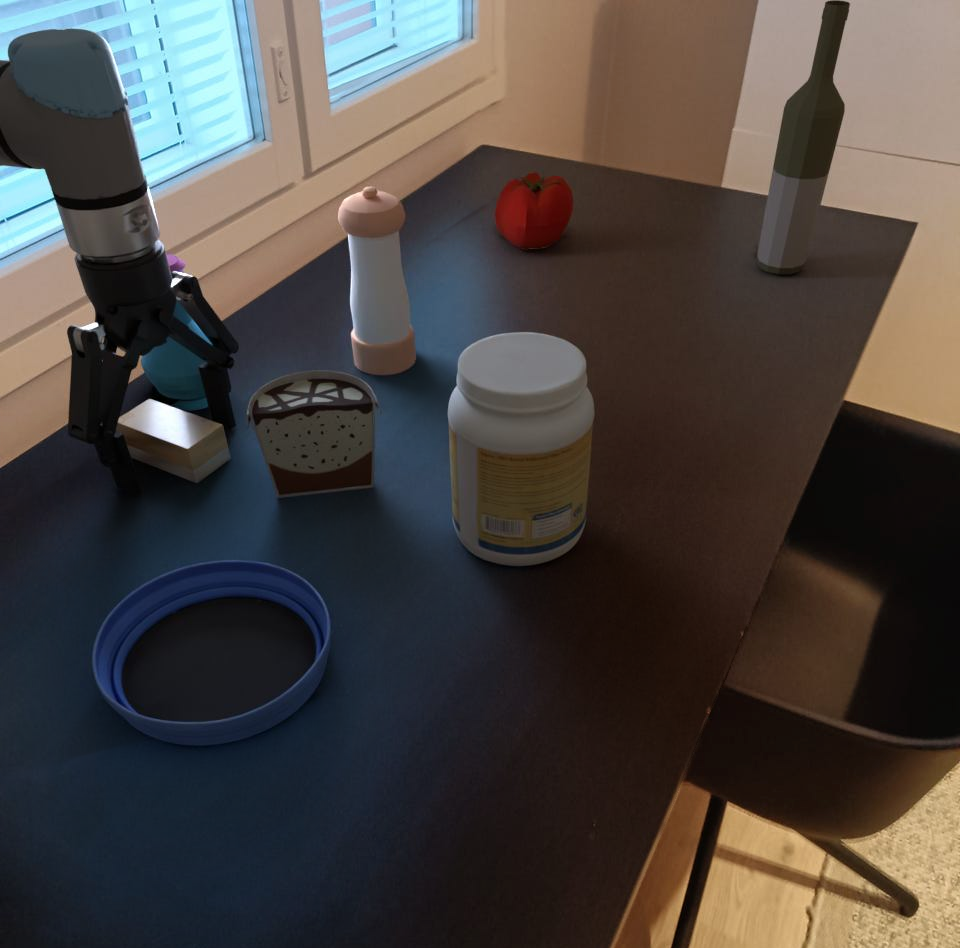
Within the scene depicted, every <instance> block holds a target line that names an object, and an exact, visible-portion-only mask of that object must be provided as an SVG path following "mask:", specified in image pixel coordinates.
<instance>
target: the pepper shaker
mask: <svg viewBox="0 0 960 948" xmlns="http://www.w3.org/2000/svg"><path fill="white" fill-rule="evenodd" d="M337 212H338V213H337V221H338V223H339V225H340V228H341V229H342V231H344V232H345V233H346V234H347V241H348V251H349V260H350V270H351V271H350V291H349V292H350V293H349V306H350V312H351V313H350V314H351V319H352V326H353V328H352V329H351V332H350V339H351V346H352V347H351V348H352V355H353V356H352V357H353V363H354V366H355V367H356V368H357V369H358V370H359V371H361V372H363V373H364V374H369V375H373V376H391V375H395V374H400V373H403V372H405V371H407V370H409V369H411V368H412V367H413V366H414V365H415V363H416V361H417V353H416V352H417V351H416V339H415V331H414V330H415V329H414V327H413V325H411V307H410V305H411V304H410V303H411V302H410V298H409V294H408V289H407V285H406V282H405V275H404V271H403V263H402V253H401V242H400V241H401V239H400V230H401V229H402V227H403V225H404V223H405V221H406V216H407V215H406V212H405V209H404V205H403V203H402V202H401V201H400V199H399V198H398V197H397V196H395V195H394V194H391V193H388V192H385V191H382V190H381V191H380V190H377V188H375V187H374V186H366V187H364V188H363V189H362V190H361V191H358V192H355V193H354V194H351V195H349V196H348V197H346V198H344V199H343V201H342V202H341V204H340V206H339V208H338V211H337ZM415 360H416V361H415Z"/></svg>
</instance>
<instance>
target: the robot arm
mask: <svg viewBox="0 0 960 948" xmlns="http://www.w3.org/2000/svg"><path fill="white" fill-rule="evenodd" d="M7 57H8V60H3V59H0V167H3V166H4V167H14V168H22V169H29V170H31V169H33V170H44V173H45V175H46V178H47V180H48V183H49V186H50V190H51V192H52V196H53V199H54V201H55V204H56V207H57V210H58V215H59V217H60V220H61V225H62V227H63V231H64V233H65V236H66V240H67V242H68V245H69V246H68V247H69V249H71V251H73V252H74V253H76V254H75V255H74V262H75V265H76V269H77V272H78V275H79V277H80V281H81V285H82V287H83V290H84V293H85V294H86V297H87V299H88V300H89V302H90V303H91V305H92V306H93V309H94V322H93V323H90V324H87V325H85V326H78V325H75V324H71V325H70V326H68V328H67V330H66V335H67V340H68V343H69V347H70V351H71V363H70V381H69V400H68V402H69V404H68V417H67V419H68V420H67V434H68V436H69V437H71V438H73V439H76V440H78V441H81V442H84V443H86V444H89V445H94V448H95V451H96V453H97V456H98V458H99V462H100V463H101V464H102V466H103V467H106V468H108V469H109V470H110V472H111V475H112V478H113V481H114V483H115V486H116V488H117V489H118V490H121V491H124V492H126V493H128V494H131V495H133V496H136V497H138V496H140V494H142V493H143V489H142V486H141V483H140V479H139V477H138V474H137V471H136V468H135V465H134V463H133V458H131V456H130V453H129V450H128V447H127V444H126V441H125V438H124V435H123V434H121V433H118V432H117V431H116V427H117V424H118V420H119V417H121V412H122V409H123V405H124V400H125V397H126V393H127V390H128V386H129V382H130V378H131V374H132V371H133V370H135V369H137V367H138V365H139V360H140V358H141V357H142V356H144V355H146V354H148V353H149V352H150V351H151V350H152V349H153V348H154V347H157V346H161V345H163V344H165V343H167V340H166V339H167V338H168V336H169V337H170V338H171V339H173V340H174V341H176V342H177V343H179V344H180V345H182V346H183V347H185V348H186V349H188V350H189V351H191V352H192V353H194V354H195V355H196V356H198V357H199V358H201V359H202V360H204V361H206V362H207V365H206V364H202V365H200V366H199V367H198V368H199V372H200V376H201V380H202V384H203V388H204V392H205V395H206V399H207V403H208V407H207V408H208V411H209V415H210V419H211V421H214V422H216V423H219V424H222V425H223V428H227V429H230V430H232V429H234V428H236V427H237V422H236V418H235V415H234V409H233V406H232V401H231V397H230V393H232V384H231V380H230V375H229V371H228V370H227V368H228V369H229V370H230V369H232V368H233V367H234V365H235V360H234V357H232V356H231V355H232V354H236V353H238V351H239V348H240V344H239V343H238V340H236V338H235V337H234V335H232V333H231V332H230V330H229V329H228V327H227V326H226V325H225V323H224V322H223V321H222V319H221V318H220V317H219V316H218V314H217V313H216V311H215V310H214V309H213V307H212V306H211V305H210V303H209V301H207V300H206V298H205V296H204V294H203V292H202V289H201V286H200V282H199V280H198V278H197V277H196V276H194V275H191V274H188V273H185V272H183V273H180V272H176V271H173V272H172V273H171V271H170V267H169V263H168V259H167V256H166V254H167V252H166V248H165V244H164V243H163V242H162V241H160V240H159V238H160V236H161V229H160V226H159V221H158V218H157V214H156V211H155V207H154V201H153V198H152V194H151V191H150V187H149V184H148V180H147V176H146V175H145V173H144V169H143V165H142V161H141V155H140V151H139V146H138V142H137V137H136V132H135V128H134V124H133V119H132V114H131V111H130V106H129V97H128V93H127V91H126V89H125V87H124V85H123V82H122V79H121V76H120V72H119V69H118V66H117V63H116V60H115V57H114V54H113V49H112V48H111V46H110V44H109V43H108V42H107V40H106V39H105V38H104V37H103V36H102V35H100V34H99V33H96V31H92V30H88V29H84V28H71V27H70V28H64V29H56V28H51V29H42V30H37V31H32V32H27V33H23V34H22V35H19V36H17V37H15V38H13V39H12V40H11V41H10V43H9V44H8V46H7ZM176 300H178V301H179V302H180V304H181V305H182V306H183V308H184V309H185V310H186V312H187V313H188V314H189V315H190V317H191V318H192V319H193V320H194V322H195V323H196V324H197V326H198V327H199V328H200V329H201V331H202V332H203V333H204V335H205V336H206V337H207V338H208V340H209V341H210V342H211V343H212V345H211V344H210V343H208V342H207V341H206V340H204V339H203V338H201V337H200V336H199V335H197V334H196V333H194V332H193V331H192V330H190V329H189V327H188V326H187V325H185V324H184V323H183V322H181V321H180V320H179V319H177V318H176V317H174V316H173V315H174V310H175V306H176ZM118 349H119V350H121V351H122V352H124V355H119V354H117V350H118Z"/></svg>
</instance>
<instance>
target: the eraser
mask: <svg viewBox="0 0 960 948" xmlns="http://www.w3.org/2000/svg"><path fill="white" fill-rule="evenodd" d="M224 428H225V427H224V426H223V425H222V424H219V423H216V422H214V421H212V419H211V420H210V419H207V418H205V417H202V416H199V415H197V414H194V413H191V412H188V411H185V410H180V409H177V408H174V407H172V406H171V405H169V404H166V403H163V402H160V401H158V400H154V399H152V398H148V399H147V400H145V401H143V402H141V403H140V404H138V405H137V406H135V407H134V408H132V409H130V410H129V411H127V412H126V413H124V414H122V415H120V416H119V420H118V424H117V427H116V432H118V433H121V434H123V435H124V438H125V441H126V444H127V447H128V450H129V453H130V456H131V459H134V460H137V461H139V462H141V463H144V464H146V465H148V466H152V467H154V468H157V469H159V470H161V471H164V472H167V473H170V474H172V475H174V476H177V477H180V478H182V479H185V480H187V481H190V482H192V483H195V484H198V483H200V482H201V481H203V480H205V478H206V477H208V476H210V474H212V473H213V472H215V471H216V470H217V469H219V468H220V467H221V466H223V465H224V464H226V463H227V462H228V461H230V460H231V459H232V457H231V454H230V449H229V445H228V440H227V437H226V433H225V429H224Z"/></svg>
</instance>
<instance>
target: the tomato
mask: <svg viewBox="0 0 960 948" xmlns="http://www.w3.org/2000/svg"><path fill="white" fill-rule="evenodd" d="M518 178H519V179H518ZM573 211H574V196H573V191H572V189H571V187H570V186H569V184H568V182H567V181H566V180H565V178H563V177H561V176H559V175H551V176H548V177H545V176H542V177H541V176H540V175H539V173H538V172H536V171H534V172H531V173H527V174H526V175H525V176H524V177H523V176H517V177H515V178H513V179H511V180H509V181H508V182H507V183H506V184H505V186H504V187H503V188H502V190H501V191H500V194H499V197H498V198H497V202H496V207H495V211H494V221H495V222H494V223H495V225H496V228H497V231H498V232H499V234H500V235H501V236H502V237H503V238H504V239H506V240H507V241H508V242H509V243H510V244H511V245H513V246H514V247H516V246H517V247H516V248H518V247H519V249H520V248H524V249H529V248H542V247H546V246H548V247H550V246H552V245H554V244H555V243H556V242H557V241H559V240H560V239H561V237H562V236H563V234H564V231H565V230H566V228H567V226H568V224H569V222H570V220H571V217H572V214H573ZM546 248H547V247H546ZM542 249H543V248H542Z"/></svg>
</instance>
